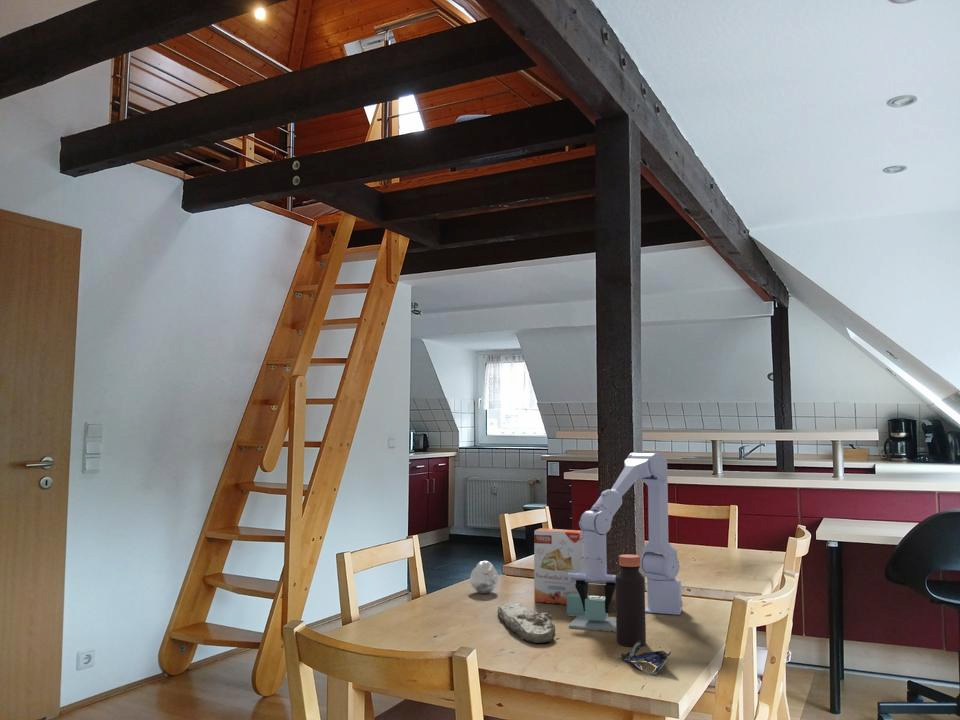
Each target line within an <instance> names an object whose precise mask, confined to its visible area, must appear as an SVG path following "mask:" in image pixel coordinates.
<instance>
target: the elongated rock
mask: <svg viewBox="0 0 960 720" xmlns="http://www.w3.org/2000/svg"><path fill="white" fill-rule="evenodd" d="M497 614H498V616H499V619H500V620H501V621H502V622H504V624H505V627H507V628H509V627H510V628H509V629H510V631H512V632H513V633H514V632H515V633H516V634H515V633H514V634H515V635H517V636H518V637H520V639H521V638H522V639H521V640H523V639H525V641H527V642H532V643H534V644H536V643H537V644H539V643H541V644H543V643H548V642H549V643H550V642H552V638H555V637H556V626H555V624H553V622H552V621H551V620H552V617H553V616H552V615H551V613H549V612H540V613H539V612H537V611H536V612H533V611H532V610H530V609H529V608H528V607H526V606H524V605H523V604H522V603H519V602H506V603H502V604H500V605H499V606H498V607H497Z"/></svg>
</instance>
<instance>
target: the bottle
mask: <svg viewBox="0 0 960 720" xmlns="http://www.w3.org/2000/svg"><path fill="white" fill-rule="evenodd" d="M640 560H641V556H640V555H637V554H631V553H630V554H620V555H618V565H619V568H620V571H619V572H618V573H617V574H616V575H617V576H616V579H615V581H616V612H615V618H616V632H615V633H616V643H618V645H621V646H623V645H624V646H625V647H630V648H631V647H632V648H633V647H634V645H635V644H636V643H637V641H641V644H640V645H639V646H640V647H642V646H644V645H646V643H647V642H646V641H647V634H646V629H647V628H646V612H645V609H646V594H645V593H646V588H645V586H646V585H645V584H646V583H645V576H644V575H642V574H641V572H640V569H641V567H640Z"/></svg>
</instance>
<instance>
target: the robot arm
mask: <svg viewBox="0 0 960 720" xmlns="http://www.w3.org/2000/svg"><path fill="white" fill-rule="evenodd" d="M623 463H624V464H623V465H624V467H623V469H622V471H621V472H620V474H619V476H618V477H617V478H616V480H615V482H614V483H613V485H612V487H611V489H605V490H604V491H602V492H601V493H600V496H599V497H598V499H597V500H596V502H595V503H594V504H593V505H592V506H591V508H590V510H586V511H584V512H583V513H582V514H581V516H580V519H579V521H578V525H579V528H580V531H582V537H583V538H584V558H585V573H569V574H568V582H572V581H576V584H575V587H576V589H577V591H578V593H579V595H580V598H581V601H582V604H583V609H584V611H585V599H586V598H587V592H588V583H595V584H606V585H605V586H604V589H605V613H608V614H609V613H610V611H609V609H610V603H611V599H612V596H613V593H614V591H615V588H616V581H615V579H616V576H617V575H618V574H608V564H607V563H608V561H607V560H608V559H607V533H608V532H610V530H611V528H612V522H613V519H614V516H615V514H616V513H617V512H618V510H620V507H621V506H622V505H623V496H624V495H625V494H626V493H627V492H628V491H629V489H630V488H631V487H632V485H634V483H635V482H636V481H637V480H641V481H643V483H644V484H645V485H647V493H648V495H647V499H648V500H647V504H648V507H647V508H648V510H647V511H648V512H647V515H648V518H647V519H648V542H647V543H646V544H645V545H644V546H643V547H642V549H641V550H642V551H641V552H642V553H641V556H640V570H641V572H642V573H643V574H644V578H646V593H647V594H646V598H647V601H646V603H647V604H646V606H645V613H649V614H651V613H652V614H663V615H666V614H667V615H675V616H676V615H678V616H680V615H681V613H682V610H683V606H684V605H683V598H682V595H683V594H682V591H683V590H682V580H681V579H677V578H676V577H677V576H678V574H679V572H680V561H679V559H678V551H677V549H676V548H675V547H674V546H672V545H671V543H669V495H668V494H669V493H668V491H669V490H668V483H669V482H668V460H667V459H666V458H665V456H664V455H663V454H661V453H660V452H655V453H654V452H653V453H651V452H649V453H648V452H647V453H646V452H634V451H633V452H631V453H629V454H628V456H627V458H626V459H624V462H623Z"/></svg>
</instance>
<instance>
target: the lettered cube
mask: <svg viewBox="0 0 960 720" xmlns="http://www.w3.org/2000/svg"><path fill="white" fill-rule="evenodd" d="M607 617H609V613H605V597H604V596H588V597H587V598H586V599H585V619H587V620H599V621H605V620H606V619H607Z"/></svg>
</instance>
